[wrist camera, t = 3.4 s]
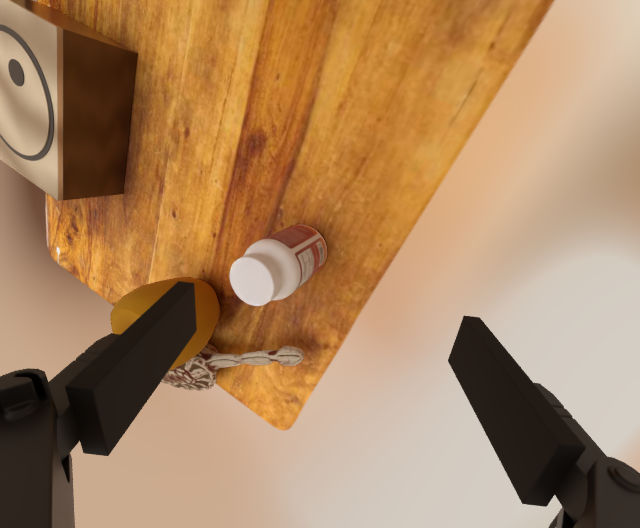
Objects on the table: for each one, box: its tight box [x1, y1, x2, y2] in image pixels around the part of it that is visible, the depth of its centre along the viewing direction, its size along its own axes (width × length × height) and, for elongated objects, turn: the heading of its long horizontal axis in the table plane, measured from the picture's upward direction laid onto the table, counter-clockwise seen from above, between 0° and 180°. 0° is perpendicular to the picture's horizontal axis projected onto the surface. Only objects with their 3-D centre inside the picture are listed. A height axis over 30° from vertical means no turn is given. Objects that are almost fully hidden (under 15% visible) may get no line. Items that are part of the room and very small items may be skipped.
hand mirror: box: [161, 343, 304, 390], centre depth 44 cm, size 11×6×30 cm
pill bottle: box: [230, 224, 327, 306], centre depth 31 cm, size 6×6×11 cm
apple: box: [111, 277, 220, 371], centre depth 39 cm, size 11×11×13 cm
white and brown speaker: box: [0, 0, 137, 201], centre depth 39 cm, size 19×15×9 cm
